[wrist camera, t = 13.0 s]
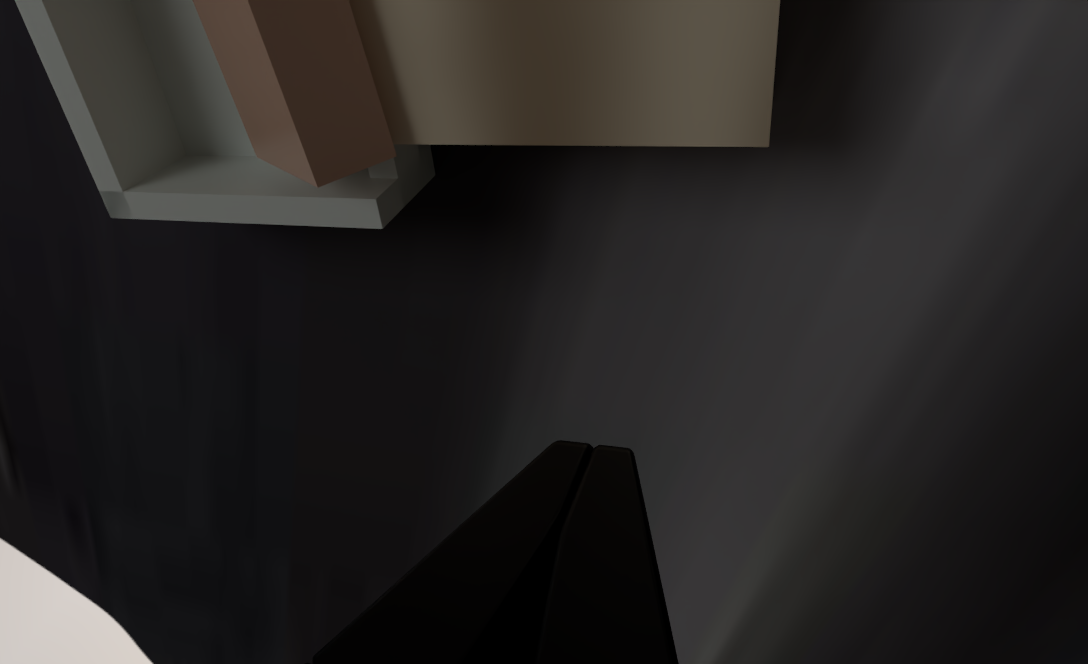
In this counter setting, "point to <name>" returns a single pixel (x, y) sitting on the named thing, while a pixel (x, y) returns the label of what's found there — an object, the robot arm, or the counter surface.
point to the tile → (300, 84)
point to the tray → (187, 124)
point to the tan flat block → (573, 71)
